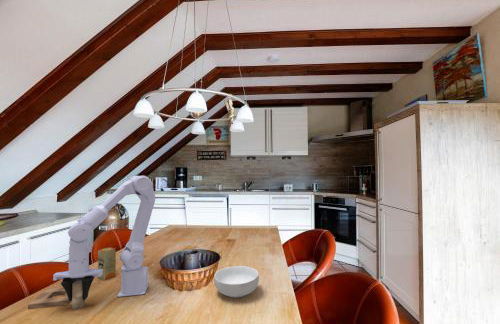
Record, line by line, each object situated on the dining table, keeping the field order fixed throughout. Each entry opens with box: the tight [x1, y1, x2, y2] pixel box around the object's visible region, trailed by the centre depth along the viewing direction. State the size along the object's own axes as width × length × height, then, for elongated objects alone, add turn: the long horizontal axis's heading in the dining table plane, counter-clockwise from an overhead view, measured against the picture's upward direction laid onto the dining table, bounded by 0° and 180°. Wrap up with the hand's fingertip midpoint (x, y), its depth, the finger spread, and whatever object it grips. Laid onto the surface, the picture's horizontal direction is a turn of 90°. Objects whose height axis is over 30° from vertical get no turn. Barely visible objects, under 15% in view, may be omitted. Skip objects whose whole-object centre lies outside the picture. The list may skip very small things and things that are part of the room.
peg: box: [71, 280, 86, 310], centre depth 88 cm, size 4×4×8 cm
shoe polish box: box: [97, 246, 117, 282], centre depth 113 cm, size 5×5×12 cm
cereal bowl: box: [213, 265, 260, 299], centre depth 97 cm, size 17×17×7 cm
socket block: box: [27, 287, 72, 310], centre depth 94 cm, size 12×12×2 cm
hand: (78, 299), depth 88 cm, fingers closed on peg, 4 cm apart
